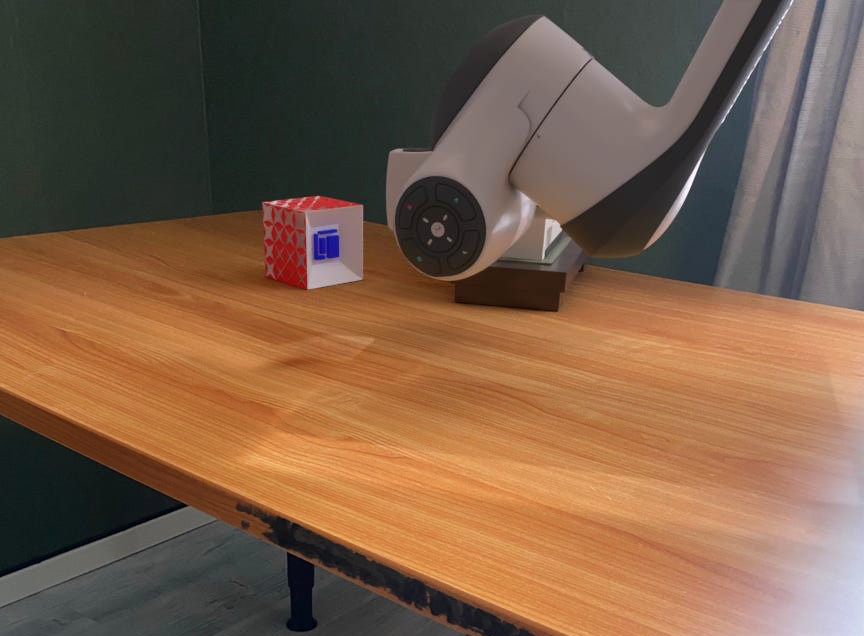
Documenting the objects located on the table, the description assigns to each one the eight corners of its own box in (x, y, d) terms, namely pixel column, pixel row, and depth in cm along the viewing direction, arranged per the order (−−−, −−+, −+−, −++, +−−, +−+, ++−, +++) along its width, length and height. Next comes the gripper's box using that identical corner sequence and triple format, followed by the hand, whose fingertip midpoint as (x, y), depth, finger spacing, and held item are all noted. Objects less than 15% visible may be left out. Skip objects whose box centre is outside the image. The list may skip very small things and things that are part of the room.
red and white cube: (320, 267, 118) (318, 195, 114) (363, 279, 113) (363, 204, 109) (265, 277, 113) (261, 202, 109) (307, 290, 108) (304, 212, 104)
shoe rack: (591, 266, 121) (598, 203, 117) (562, 313, 101) (570, 240, 98) (494, 258, 124) (498, 197, 120) (448, 303, 104) (451, 232, 101)
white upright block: (543, 260, 103) (555, 131, 97) (495, 257, 104) (504, 129, 98) (562, 237, 114) (574, 120, 108) (519, 234, 115) (528, 118, 109)
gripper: (616, 162, 79) (632, 144, 90) (371, 149, 84) (415, 134, 95) (605, 245, 82) (622, 218, 93) (370, 229, 87) (413, 205, 98)
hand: (516, 176), depth 94 cm, fingers open, 8 cm apart
